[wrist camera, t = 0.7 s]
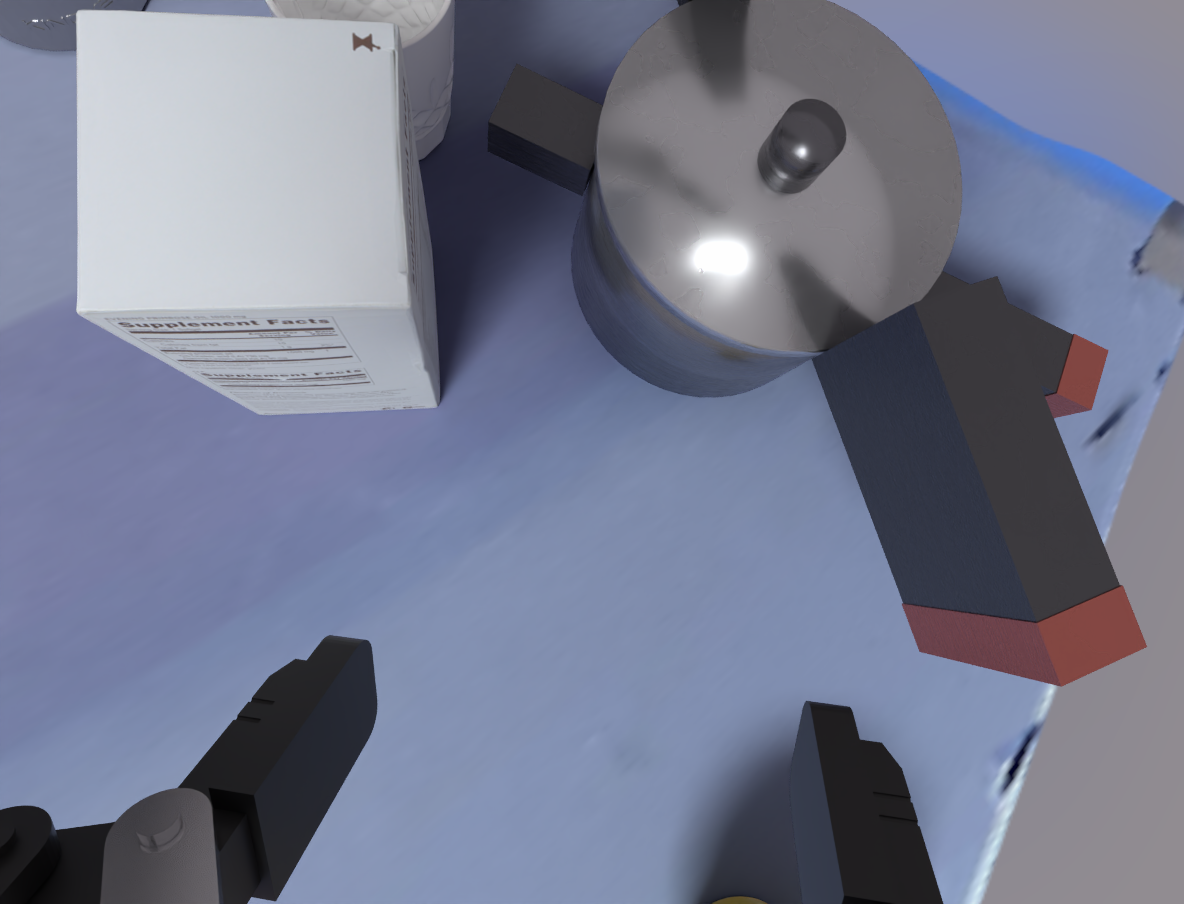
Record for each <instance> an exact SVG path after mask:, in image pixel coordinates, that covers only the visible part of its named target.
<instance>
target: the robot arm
mask: <svg viewBox="0 0 1184 904" xmlns="http://www.w3.org/2000/svg"><path fill="white" fill-rule="evenodd" d="M146 1H147V0H0V36H2V37H4V38H6V39H7V40H9V41H11V42H14V43H17V44H20V45H23V46H26V47H29V48H34V49H41V50H48V51H69V50H77V33H76V13H77V11H78V10H126V11H142V9H143V7H144V5H145V3H146ZM376 715H377V693H376V684H375V674H374V664H373V654H372V647H371V644H370V642H369V641H368V640H362V639H355V638H347V637H340V636H333V635H329V636H327V637H325V638H324V639H323V640H322V641H321V643H320V644H319V645H318V647H317V648H316V649H315V650H314V652H313V653H312V654H311V656H310V657H309V658H308V659H307V661H306V660H299V659H295V660H293V661H292V662H290V663H289V664H287V665H286V666H284V667H283V668H281V669H280V670H278V671H277V672H275V673H274V674H272V675H271V676H269V678H268V679H267V680H266V681H265V682H264V684H263V685H262V686H261V687H260V688H259V690H258V691H257V692H256V693H255V695H254V696H253V697H252V701H251V702H248V703H247V704H246V706H245V707H244V708H243V709H242V710H241V712H240V713H239V714H238V715H237V719H236V720H233V721H232V723H231V724H230V725H229V726H228V727H227V729H226V730H225V731H224V732H223V733H222V735H221V736H220V737H219V738H218V740H217V741H216V742H215V743H214V744H213V746H212V747H211V748H210V749H209V750H208V752H207V753H206V754H205V755H204V757H203V758H202V759H201V760H200V761H199V763H198V764H197V765H196V766H195V767H194V769H193V770H192V771H191V772H190V774H189V775H188V776H187V777H186V778H185V780H184V781H183V782H182V783H181V784H180V786H179V787H178V788H175V789H169V790H165V791H161V792H158V793H156V794H153V795H151V796H149V797H147V798H145V799H143V800H141V801H139V802H138V803H136V804H135V805H133V806H132V807H131V808H129V809H128V810H127V811H125V812H124V813H123V814H122V815H121V816H120V817H119V818H118V820H117V821H116V822H112V823H106V824H98V825H91V826H83V827H75V828H68V829H60V830H55V828H54V825H53V822H52V820H51V817H50V816H49V814H48V813H47V812H46V811H45V810H43V809H41V808H39V807H35V806H15V807H10V808H6V809H2V810H0V904H247V903H248V901H249V900H250V898H251V897H255V898H260V899H266V900H271V901H276V900H277V898H278V897H279V895H280V893H281V891H282V890H283V888H284V886H285V884H286V883H287V881H288V879H289V877H290V876H291V874H292V872H293V870H294V869H295V867H296V865H297V863H298V862H299V860H300V858H301V856H302V855H303V853H304V851H305V849H306V848H307V846H308V844H309V842H310V841H311V839H312V837H313V835H314V834H315V832H316V830H317V828H318V827H319V825H320V823H321V821H322V820H323V818H324V816H325V814H326V813H327V811H328V809H329V807H330V806H331V804H332V802H333V800H334V799H335V797H336V795H337V793H338V792H339V790H340V788H341V786H342V785H343V783H344V781H345V779H346V778H347V776H348V774H349V772H350V771H351V769H352V767H353V765H354V764H355V762H356V760H357V758H358V757H359V755H360V753H361V751H362V749H363V748H364V746H365V744H366V742H367V741H368V739H369V737H370V735H371V733H372V730H373V727H374V724H375V720H376ZM910 798H911V797H910V794H909V790H908V787H907V784H906V781H905V777H904V774H903V771H902V768H901V767H900V766H899V765H898V763H897V762H896V761H895V759H894V758H893V757H892V755H891V754H890V753H889V752H888V750H887V749H886V748H885V746H884V745H883V744H882V743H880V742H872V741H865V740H860V739H859V735H858V731H857V727H856V723H855V719H854V715H853V712H852V709H851V708H850V707H848V706H840V705H833V704H825V703H818V702H811V701H806V702H805V704H804V706H803V710H802V715H801V720H800V725H799V730H798V734H797V739H796V744H795V749H794V754H793V759H792V764H791V770H790V806H791V815H792V823H793V831H794V839H795V847H796V855H797V864H798V872H799V880H800V888H801V896H802V904H943V901H942V898H941V895H940V891H939V888H938V885H937V882H936V878H935V875H934V872H933V868H932V865H931V862H930V859H929V855H928V852H927V849H926V846H925V842H924V839H923V836H922V833H921V829H920V826H918V824H917V822H918V820H917V816H916V813H915V810H914V807H913V803H911V801H910Z"/></svg>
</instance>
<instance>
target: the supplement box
mask: <svg viewBox="0 0 1184 904" xmlns="http://www.w3.org/2000/svg"><path fill="white" fill-rule="evenodd" d="M76 33H77V209H78V253H77V254H78V290H77V309H76V312H77V313H78V314H79V315H80V316H82V317H84V318H85V319H87V320H89V321H91V322H92V323H94V324H96V325H98V326H100V327H102V328H103V329H105V330H107V331H109V332H111V333H112V334H114V335H116V336H118V337H120V338H122V339H123V340H125V341H127V342H129V343H131V344H132V345H134V346H136V347H138V348H140V349H142V350H143V351H145V352H147V353H149V354H151V355H153V356H154V357H156V358H158V359H160V360H161V361H163V362H165V363H167V364H168V365H170V366H172V367H174V368H175V369H177V370H179V371H181V372H183V373H185V374H186V375H188V376H190V377H192V378H194V379H195V380H197V381H199V382H201V383H203V384H205V385H206V386H208V387H210V388H212V389H213V390H215V391H217V392H219V393H221V394H223V395H224V396H226V397H228V398H230V399H232V400H234V401H236V402H237V403H239V404H241V405H243V406H244V407H246V408H248V409H250V410H252V411H254V412H255V413H257V414H259V415H283V414H307V413H329V412H352V411H375V410H398V409H419V408H436V407H438V406H439V403H440V373H439V353H438V334H437V316H436V298H435V283H434V268H433V255H432V245H431V239H430V232H429V225H428V219H427V212H426V205H425V199H424V192H423V185H422V179H421V173H420V167H419V161H418V155H417V149H416V143H415V134H414V125H413V118H412V108H411V101H410V95H409V89H408V82H407V76H406V69H405V63H404V56H403V50H402V44H401V37H400V31H399V27H398V25H396V24H395V23H386V22H371V21H350V20H330V19H306V18H281V17H257V16H234V15H210V14H187V13H166V12H146V11H126V10H78V11H77V13H76Z"/></svg>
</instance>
